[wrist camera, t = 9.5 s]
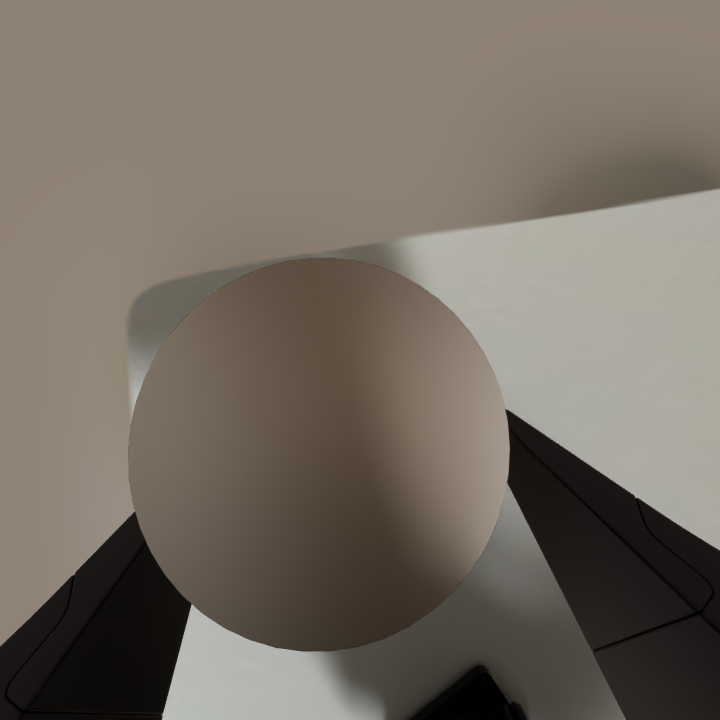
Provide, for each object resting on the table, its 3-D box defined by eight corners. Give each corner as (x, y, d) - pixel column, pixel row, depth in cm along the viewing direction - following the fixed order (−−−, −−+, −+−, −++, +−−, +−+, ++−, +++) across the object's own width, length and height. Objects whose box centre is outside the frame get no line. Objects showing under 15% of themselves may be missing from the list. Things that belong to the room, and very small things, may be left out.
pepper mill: (338, 466, 16) (252, 763, 3) (292, 394, 16) (51, 384, 4) (409, 416, 16) (598, 491, 3) (361, 348, 17) (371, 187, 4)
